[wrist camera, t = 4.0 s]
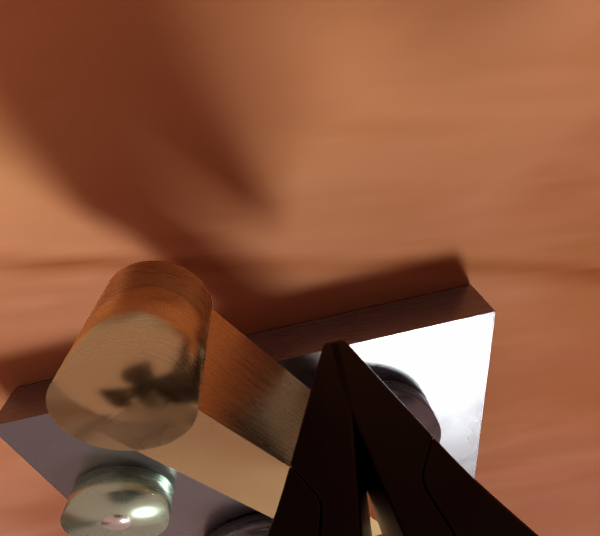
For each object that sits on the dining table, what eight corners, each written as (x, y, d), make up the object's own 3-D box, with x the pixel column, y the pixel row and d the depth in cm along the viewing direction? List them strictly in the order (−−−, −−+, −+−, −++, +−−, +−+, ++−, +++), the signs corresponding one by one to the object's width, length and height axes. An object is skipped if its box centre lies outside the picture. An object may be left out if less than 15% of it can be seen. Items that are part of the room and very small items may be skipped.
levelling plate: (470, 284, 13) (516, 334, 10) (453, 515, 22) (475, 567, 20) (15, 388, 13) (-33, 459, 10) (188, 575, 22) (182, 634, 20)
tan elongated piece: (458, 432, 14) (516, 541, 11) (333, 496, 16) (354, 608, 13) (220, 176, 8) (203, 261, 5) (48, 321, 9) (-50, 458, 6)
